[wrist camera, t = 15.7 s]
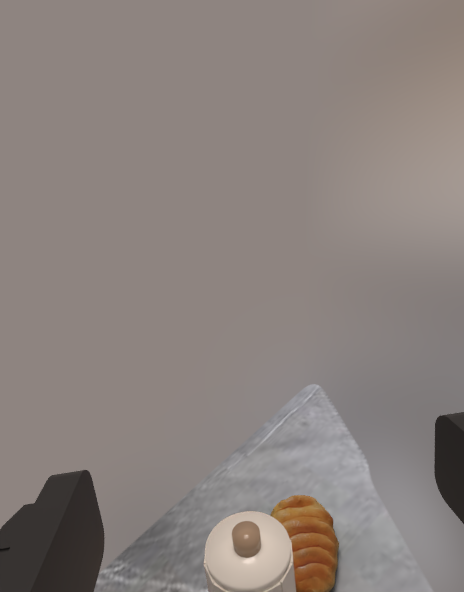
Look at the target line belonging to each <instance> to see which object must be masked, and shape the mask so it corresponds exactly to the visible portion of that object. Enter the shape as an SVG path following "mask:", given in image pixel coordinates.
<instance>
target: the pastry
mask: <svg viewBox="0 0 464 592" xmlns="http://www.w3.org/2000/svg"><path fill="white" fill-rule="evenodd" d="M271 516H272V517H273V518H275V519H276V520H278V521H279V522H280V523H281V524H282V525H283V526H284V528H285V529H286V531H287V533H288V536H289V539H290V540H291V542H292V551H293V562H294V572H295V582H296V592H329V591H330V590H331V589H332V588H333V587H334V584H335V571H336V569H337V566H338V559H337V552H338V548H339V542H338V540H337V538H336V536H335V532H334V529H333V519H332V517H331V516H330V514H329V513H328V512H327V511H326V510H325V508H324V507H323V506H322V505H321V504H319V503H318V502H317V500H316V499H315V498H313V497H310V496H305V495H297V496H291V497H289V498H288V499H286V500H282V501H281V502H279V503H278V504H277V505H276V506H275V508H274V509H273V511H272V513H271Z"/></svg>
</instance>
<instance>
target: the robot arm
mask: <svg viewBox="0 0 464 592" xmlns="http://www.w3.org/2000/svg"><path fill="white" fill-rule="evenodd" d="M435 479H436V483H437V486H438V489H439V491H440V493H441V495H442V497H443V499H444V500H445V502H446V503H447V504H448V506H449V507H450V508H451V509H452V510H453V512H454V513H455V514H456V515H457V516H458V518H459V519H460V520H461V521H462V522H463V524H464V412H461V413H455V414H448V415H443V416H439V417H438V418H437V420H436V423H435ZM103 552H104V528H103V523H102V519H101V515H100V511H99V506H98V502H97V498H96V494H95V490H94V486H93V481H92V478H91V475H90V473H89V471H87V470H83V471H76V472H70V473H64V474H57V475H52V476H50V477H49V478H48V480H47V481H46V483H45V485H44V487H43V489H42V491H41V492H40V494H39V496H38V498H37V500H36V502H35V503H34V504H28V505H24V506H23V507H22V508H21V509H20V510H19V511H18V512H17V513H16V514H15V515H14V516H13V517H12V518H11V519H10V520H9V521H7V522H6V523H5V525H3V526H2V528H1V529H0V592H94V588H95V585H96V581H97V577H98V573H99V570H100V566H101V562H102V558H103Z"/></svg>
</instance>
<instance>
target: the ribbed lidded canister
mask: <svg viewBox="0 0 464 592" xmlns="http://www.w3.org/2000/svg"><path fill="white" fill-rule="evenodd" d="M204 567H205V573H206V579H207V585H208V591H209V592H296V582H295V572H294V562H293V551H292V542H291V540H290V539H289V536H288V533H287V531H286V529H285V528H284V526H283V525H282V524H281V523H280V522H279V521H278V520H276V519H275V518H273V517H272V516H270V515H267V514H265V513H261V512H254V511H248V512H240V513H236V514H233V515H231V516H229V517H227V518H225V519H224V520H222V521H221V522H220V523H218V524H217V525H216V526H215V527H214V529H213V530H212V531H211V533H210V535H209V537H208V539H207V542H206V546H205V560H204Z"/></svg>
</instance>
